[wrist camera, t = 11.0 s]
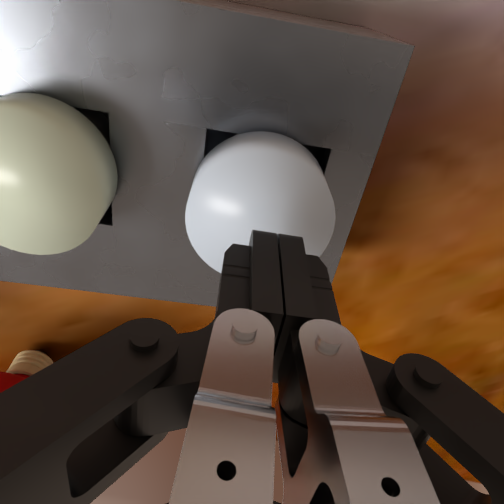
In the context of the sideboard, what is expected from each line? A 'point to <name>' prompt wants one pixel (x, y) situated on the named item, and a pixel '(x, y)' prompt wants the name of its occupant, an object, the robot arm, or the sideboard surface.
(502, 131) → the sideboard surface
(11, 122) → the cap mid
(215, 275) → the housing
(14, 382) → the red heart
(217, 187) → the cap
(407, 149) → the sideboard surface
